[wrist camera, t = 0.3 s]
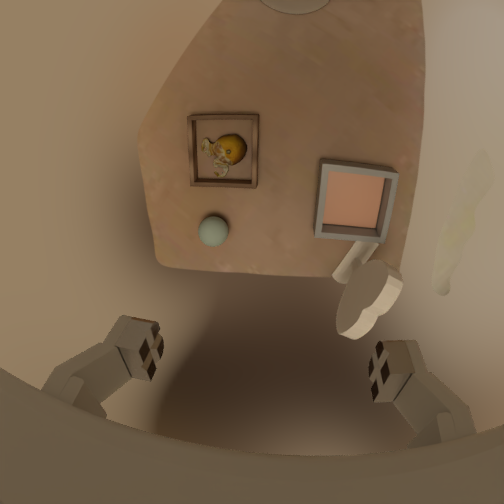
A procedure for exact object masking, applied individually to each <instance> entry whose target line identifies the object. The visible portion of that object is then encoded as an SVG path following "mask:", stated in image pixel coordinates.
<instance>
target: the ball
mask: <svg viewBox="0 0 504 504" xmlns="http://www.w3.org/2000/svg"><path fill="white" fill-rule="evenodd" d="M198 234H199V237H200V239H201V241H202V242H203V243H204V244H206V245H208V246H212V247H214V246H219V245H221V244H222V243H223V242H224V241H225V240H226V239H227V236H228V227H227V224H226V223H225V221H224V220H222V219H221V218H219V217H214V216H212V217H208V218H206V219H204V220H203V221H202V222H201V224H200V226H199V230H198Z"/></svg>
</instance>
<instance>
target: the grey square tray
mask: <svg viewBox="0 0 504 504" xmlns="http://www.w3.org/2000/svg"><path fill="white" fill-rule="evenodd" d="M398 178H399V173H398V172H397V171H396V170H394V169H393V168H390V167H383V166H376V165H370V164H362V163H355V162H346V161H338V160H328V159H320V168H319V179H318V189H317V198H316V208H315V216H314V225H313V231H314V237H315V238H327V239H339V240H351V241H362V242H374V243H384V244H385V240H386V236H387V232H388V227H389V223H390V218H391V214H392V209H393V204H394V199H395V194H396V189H397V184H398ZM384 179H385V182H384ZM383 185H384V188H383ZM382 191H383V193H382ZM381 197H382V199H381ZM380 202H381V204H380ZM379 207H380V209H379ZM378 212H379V214H378ZM377 217H378V219H377ZM376 222H377V224H376ZM323 223H324V224H323ZM332 224H336V225H332ZM344 225H347V226H344ZM354 226H357V227H354ZM365 227H368V228H365ZM375 227H376V229H375Z"/></svg>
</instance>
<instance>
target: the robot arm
mask: <svg viewBox="0 0 504 504" xmlns="http://www.w3.org/2000/svg"><path fill="white" fill-rule="evenodd" d="M261 1H262V2H263V3H264V4H266V5H267V6H269V7H270V8H272V9H274V10H277V11H280V12H283V13H288V14H305V13H310V12H313V11H316V10H318V9H320V8H322V7H323V6H325V5H326V4H327V3H328V2H329V1H330V0H261ZM159 330H160V326H159V323H158V322H156V321H150V320H146V319H140V318H136V317H130V316H126V315H122V316H120V317H119V319H118V320H117V322H116V323H115V325H114V326H113V328H112V329H111V331H110V332H109V334H108V336H107V337H106V339H105V341H104V342H103V343H98V344H96V345H95V346H93V347H91V348H89V349H87V350H86V351H84V352H82V353H80V354H79V355H77V356H75V357H73V358H71V359H69V360H68V361H66V362H64V363H62V364H61V365H59V366H57V367H55V368H54V370H53V372H52V373H51V375H50V376H49V378H48V380H47V381H46V383H45V384H44V386H43V388H42V389H41V390H39V389H37V388H35V387H33V386H31V385H29V384H27V383H26V382H24V381H22V380H20V379H19V378H17V377H15V376H13V375H12V374H10V373H8V372H7V371H5V370H4V369H2V368H0V504H504V425H501V426H498V427H495V428H492V429H489V430H486V431H483V432H480V433H476V429H475V426H474V422H473V419H472V415H471V412H470V409H469V406H468V405H466V404H465V403H464V402H463V401H462V400H461V399H460V398H459V397H458V396H457V395H455V394H454V393H453V392H452V391H451V390H450V389H449V388H448V387H447V386H446V385H445V384H444V383H442V382H441V381H440V380H439V379H438V378H437V377H436V376H435V375H434V374H432V373H431V372H428V371H427V368H426V365H425V362H424V359H423V356H422V354H421V351H420V348H419V345H418V343H417V341H416V340H382V341H379V342H378V343H377V345H376V347H375V348H376V353H374V354H373V355H372V356H371V359H370V361H369V367H368V373H369V379H370V380H371V381H372V382H373V385H372V387H371V392H372V399H373V402H393V403H394V405H395V406H396V407H397V408H398V410H399V411H400V413H401V414H402V415H403V416H404V418H405V419H406V420H407V422H408V423H409V424H410V426H411V427H412V428H413V429H414V431H415V432H416V433H417V436H416V437H415V438H414V439H413V440H412V441H411V442H409V444H408V445H407V447H408V449H404V450H397V451H389V452H380V453H370V454H357V455H336V456H300V455H278V454H264V453H255V452H245V451H237V450H230V449H223V448H217V447H211V446H205V445H200V444H195V443H190V442H186V441H181V440H176V439H172V438H168V437H164V436H160V435H156V434H153V433H149V432H146V431H142V430H139V429H136V428H132V427H129V426H126V425H123V424H120V423H117V422H114V421H111V420H108V419H106V417H107V414H106V412H105V410H104V409H103V408H102V406H101V405H100V403H101V402H103V401H104V400H105V399H106V398H108V397H109V396H110V395H111V394H113V393H114V392H115V391H116V390H117V389H119V388H120V387H121V386H123V385H124V384H125V383H126V382H128V381H129V380H130V379H131V377H132V378H137V379H142V380H146V381H151V380H152V378H153V376H154V373H155V371H156V366H155V363H156V362H158V361H159V360H160V359H161V357H162V354H163V349H164V341H163V337H162V336H161V335H160V334H159V333H158V332H159Z"/></svg>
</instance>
